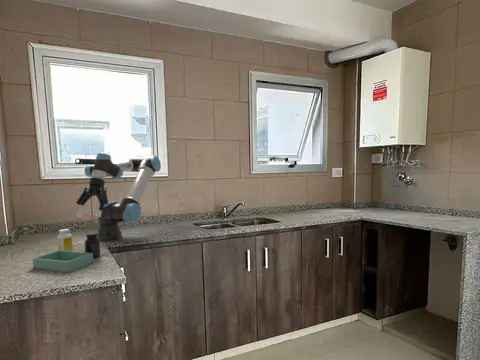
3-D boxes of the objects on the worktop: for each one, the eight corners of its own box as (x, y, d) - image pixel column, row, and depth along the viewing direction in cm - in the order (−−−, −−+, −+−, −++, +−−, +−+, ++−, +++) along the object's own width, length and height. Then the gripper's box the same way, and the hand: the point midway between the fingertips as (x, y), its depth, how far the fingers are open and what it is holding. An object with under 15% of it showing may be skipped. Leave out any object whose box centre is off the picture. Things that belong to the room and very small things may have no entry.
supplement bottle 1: (75, 251, 162) (74, 228, 161) (68, 255, 155) (67, 230, 154) (62, 252, 161) (61, 228, 161) (55, 255, 155) (54, 231, 154)
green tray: (60, 259, 148) (59, 250, 148) (93, 262, 141) (92, 253, 141) (33, 268, 136) (32, 258, 135) (68, 272, 128) (67, 262, 128)
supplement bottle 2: (102, 254, 154) (101, 231, 153) (96, 258, 147) (95, 234, 147) (89, 255, 154) (88, 232, 153) (82, 259, 147) (81, 235, 146)
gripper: (75, 178, 166) (65, 215, 159) (110, 175, 157) (100, 214, 150) (86, 183, 173) (76, 218, 165) (120, 180, 164) (111, 218, 156)
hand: (88, 216), depth 158 cm, fingers open, 13 cm apart
